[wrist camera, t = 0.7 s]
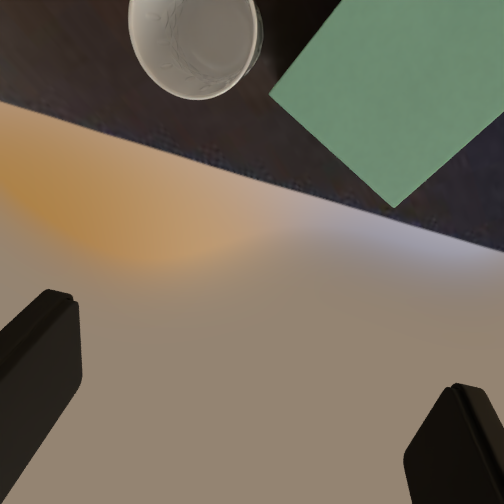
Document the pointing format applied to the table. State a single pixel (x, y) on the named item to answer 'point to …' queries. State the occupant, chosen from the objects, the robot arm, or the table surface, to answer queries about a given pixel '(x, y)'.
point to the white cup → (196, 43)
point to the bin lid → (399, 85)
